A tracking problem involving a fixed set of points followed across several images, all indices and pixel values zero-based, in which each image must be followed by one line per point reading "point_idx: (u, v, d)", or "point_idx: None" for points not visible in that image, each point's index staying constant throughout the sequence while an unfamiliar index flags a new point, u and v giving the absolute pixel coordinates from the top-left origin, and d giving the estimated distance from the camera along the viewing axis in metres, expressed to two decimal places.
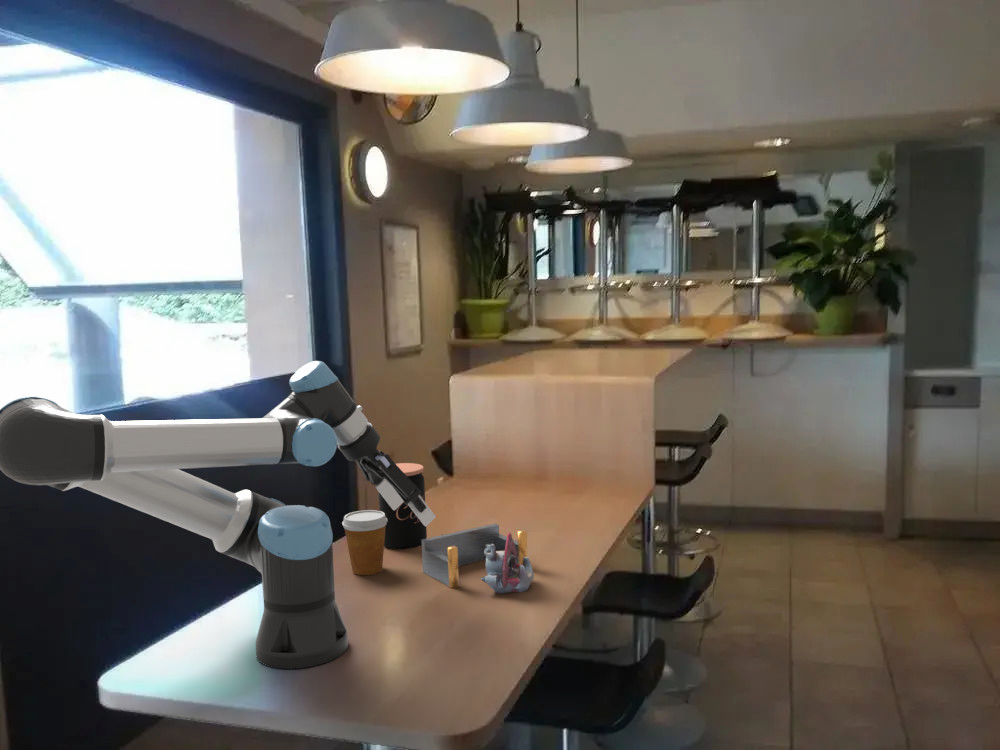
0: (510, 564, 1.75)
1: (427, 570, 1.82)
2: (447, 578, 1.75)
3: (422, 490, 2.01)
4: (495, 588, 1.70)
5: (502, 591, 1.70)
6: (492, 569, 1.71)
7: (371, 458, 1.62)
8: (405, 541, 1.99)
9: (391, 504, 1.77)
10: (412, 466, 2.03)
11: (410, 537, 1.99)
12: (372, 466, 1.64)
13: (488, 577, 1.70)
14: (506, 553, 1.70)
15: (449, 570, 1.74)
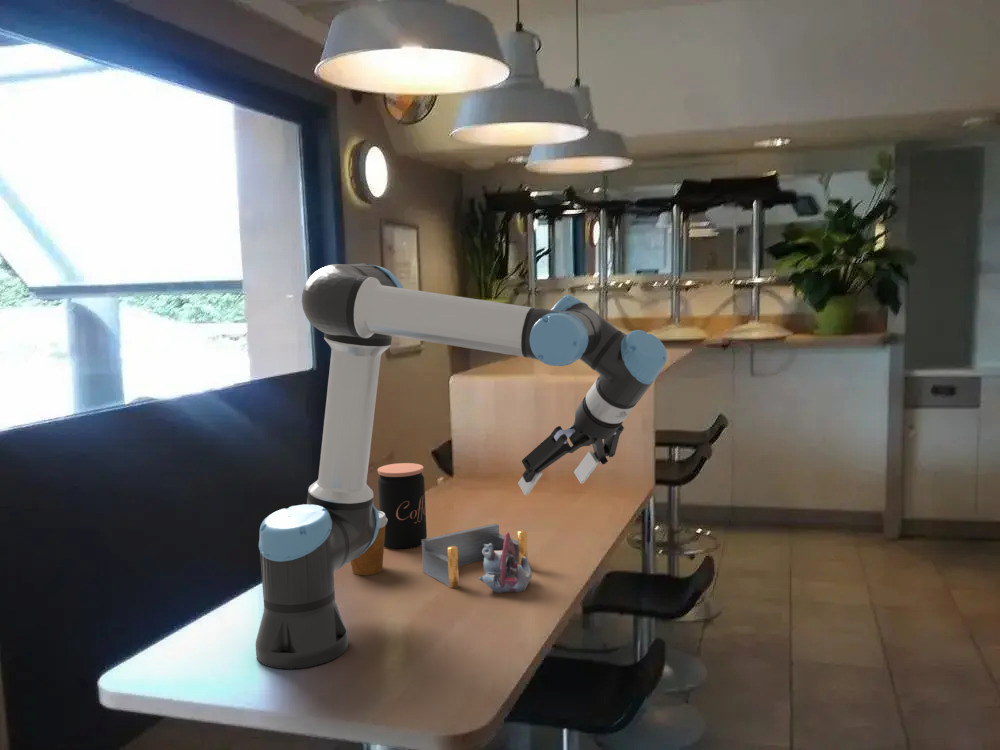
0: (508, 564, 1.75)
1: (427, 570, 1.82)
2: (447, 578, 1.75)
3: (422, 490, 2.01)
4: (493, 587, 1.70)
5: (500, 591, 1.70)
6: (490, 569, 1.72)
7: (572, 424, 1.46)
8: (405, 541, 1.99)
9: (578, 468, 1.61)
10: (412, 466, 2.03)
11: (410, 537, 1.99)
12: None
13: (486, 576, 1.70)
14: (504, 553, 1.70)
15: (449, 570, 1.74)
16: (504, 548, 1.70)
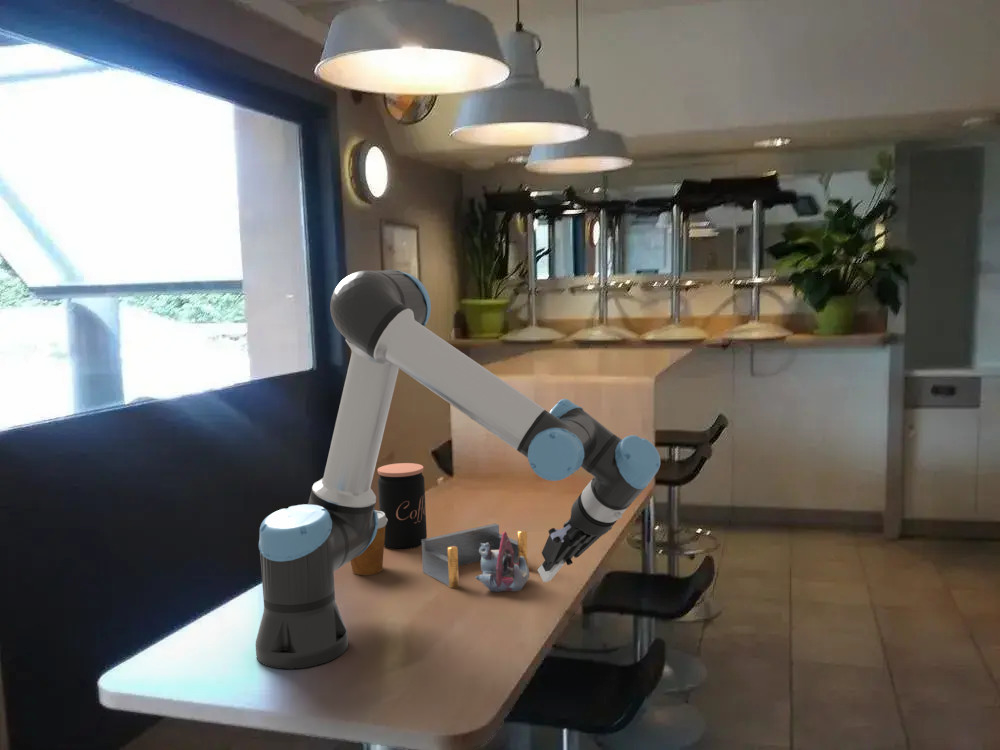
0: (506, 563, 1.75)
1: (427, 570, 1.82)
2: (447, 578, 1.75)
3: (422, 490, 2.01)
4: (489, 586, 1.71)
5: (496, 590, 1.71)
6: (487, 568, 1.72)
7: (568, 520, 1.49)
8: (405, 541, 1.99)
9: None
10: (412, 466, 2.03)
11: (410, 537, 1.99)
12: None
13: (482, 576, 1.71)
14: (500, 552, 1.70)
15: (449, 570, 1.74)
16: (501, 547, 1.71)
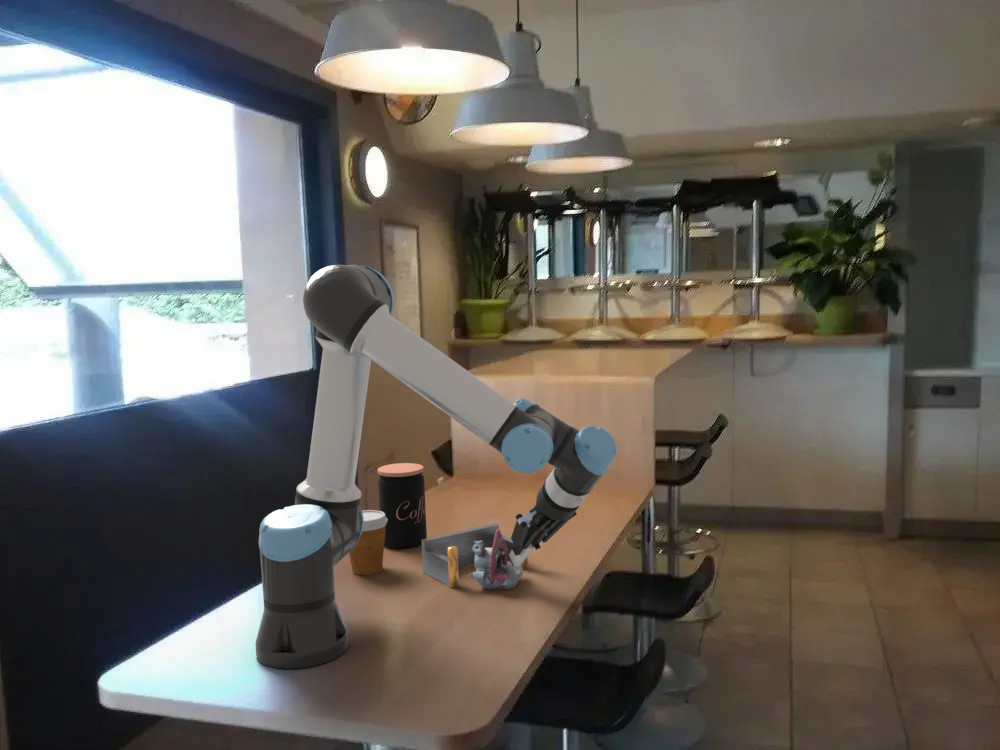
0: (500, 561, 1.77)
1: (427, 570, 1.82)
2: (447, 578, 1.75)
3: (422, 490, 2.01)
4: (482, 584, 1.72)
5: (489, 587, 1.72)
6: (481, 565, 1.74)
7: (534, 506, 1.59)
8: (405, 541, 1.99)
9: None
10: (412, 466, 2.03)
11: (410, 537, 1.99)
12: None
13: (476, 573, 1.72)
14: (493, 550, 1.72)
15: (449, 570, 1.74)
16: (494, 545, 1.72)
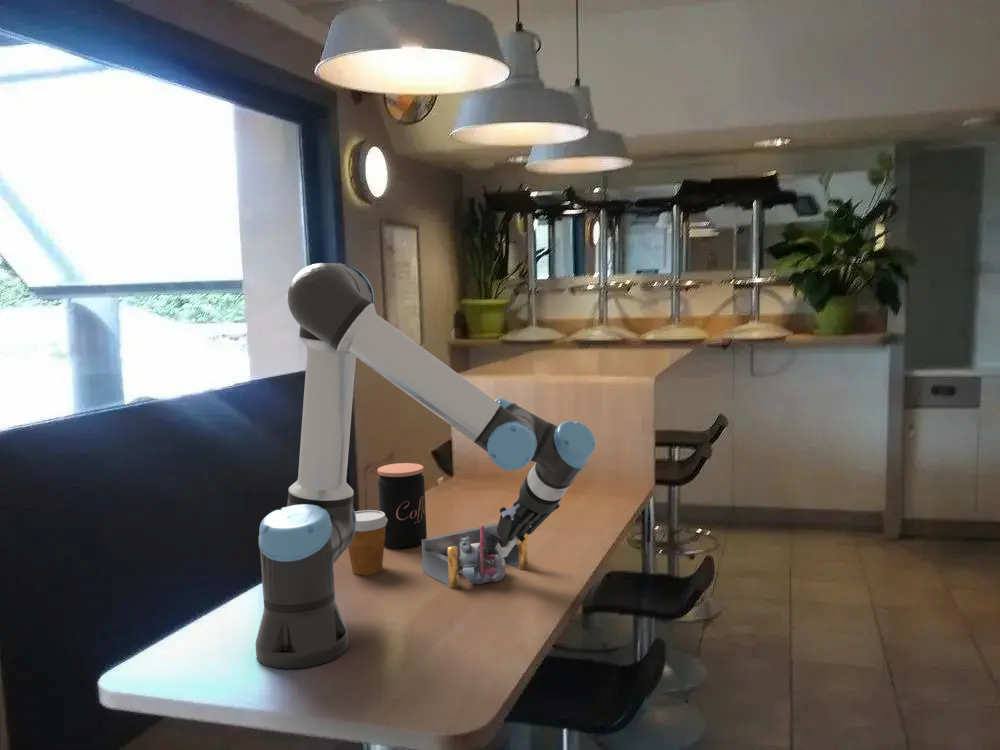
0: None
1: (427, 570, 1.82)
2: (447, 578, 1.75)
3: (422, 490, 2.01)
4: (472, 579, 1.75)
5: (479, 582, 1.75)
6: (468, 561, 1.76)
7: None
8: (405, 541, 1.99)
9: None
10: (412, 466, 2.03)
11: (410, 537, 1.99)
12: None
13: (466, 569, 1.74)
14: (482, 544, 1.75)
15: (449, 570, 1.74)
16: (481, 540, 1.75)
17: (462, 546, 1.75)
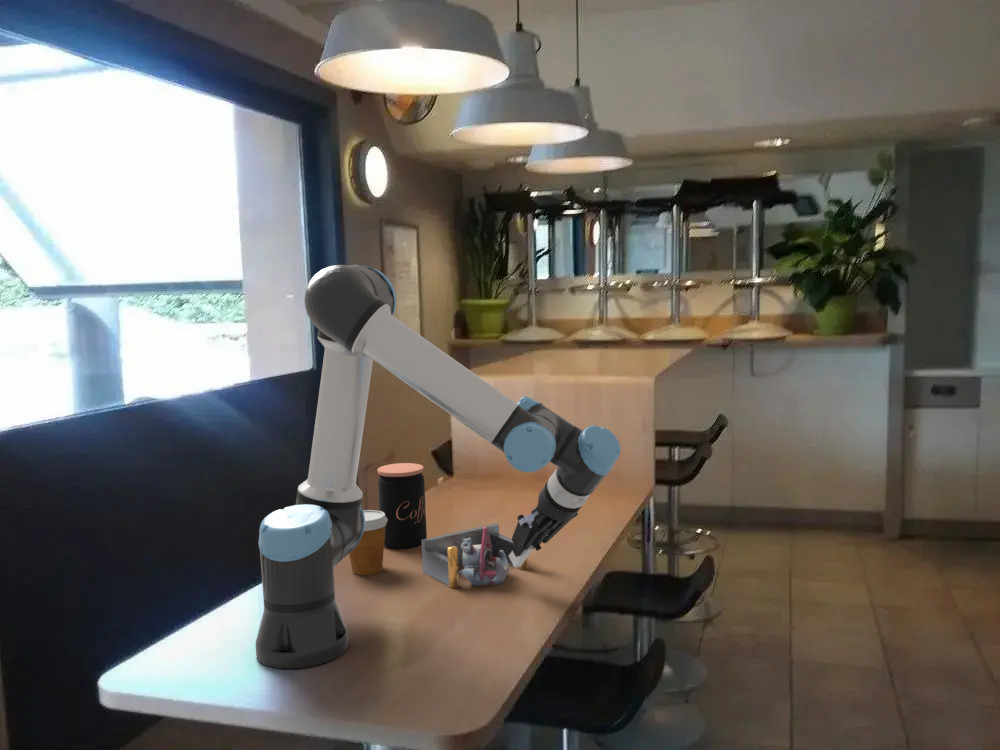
0: (486, 557, 1.79)
1: (427, 570, 1.82)
2: (447, 578, 1.75)
3: (422, 490, 2.01)
4: (472, 580, 1.74)
5: (479, 584, 1.75)
6: (469, 562, 1.76)
7: (536, 507, 1.58)
8: (405, 541, 1.99)
9: None
10: (412, 466, 2.03)
11: (410, 537, 1.99)
12: None
13: (465, 570, 1.74)
14: (483, 546, 1.74)
15: (449, 570, 1.74)
16: (483, 542, 1.75)
17: (463, 547, 1.75)
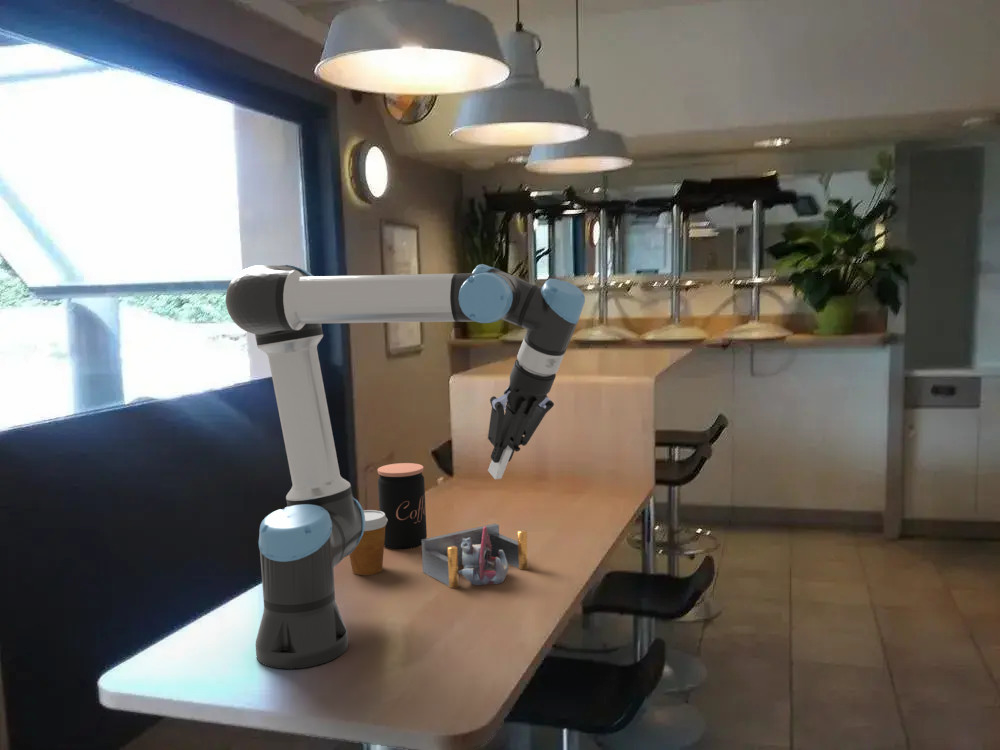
0: (485, 557, 1.80)
1: (427, 570, 1.82)
2: (447, 578, 1.75)
3: (422, 490, 2.01)
4: (472, 580, 1.75)
5: (479, 583, 1.75)
6: (469, 562, 1.76)
7: (508, 386, 1.52)
8: (405, 541, 1.99)
9: None
10: (412, 466, 2.03)
11: (410, 537, 1.99)
12: None
13: (465, 570, 1.74)
14: (482, 546, 1.74)
15: (449, 570, 1.74)
16: (482, 542, 1.75)
17: (463, 546, 1.75)
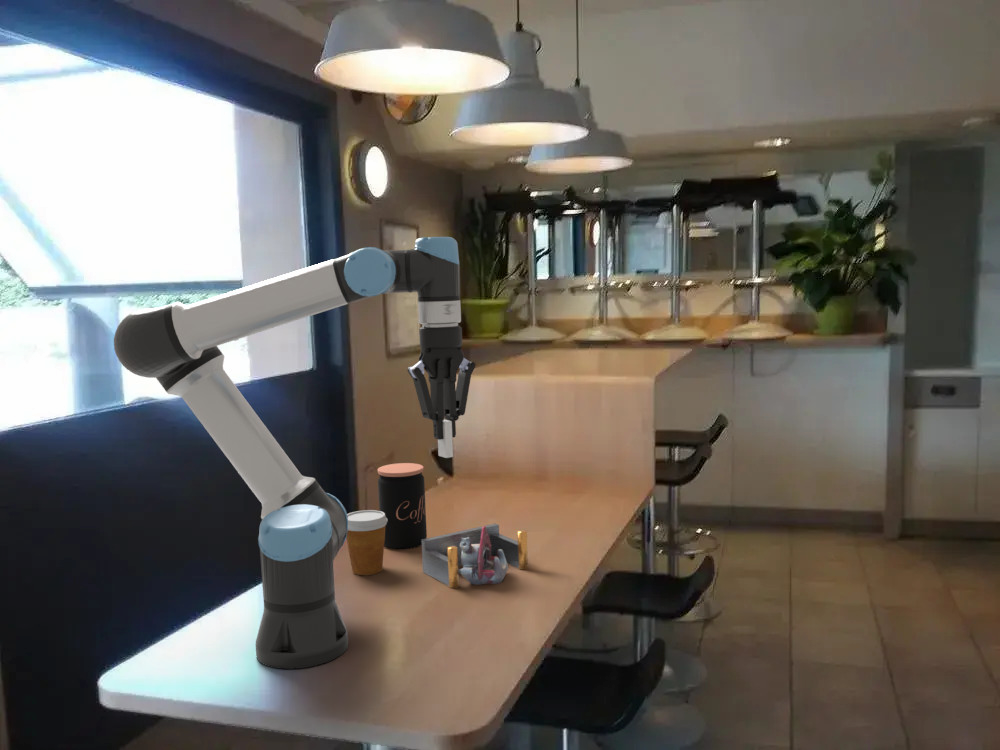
0: (485, 557, 1.80)
1: (427, 570, 1.82)
2: (447, 578, 1.75)
3: (422, 490, 2.01)
4: (471, 579, 1.75)
5: (477, 583, 1.75)
6: (468, 562, 1.77)
7: None
8: (405, 541, 1.99)
9: None
10: (412, 466, 2.03)
11: (410, 537, 1.99)
12: None
13: (464, 569, 1.75)
14: (481, 546, 1.75)
15: (449, 570, 1.74)
16: (481, 541, 1.75)
17: (462, 546, 1.75)
